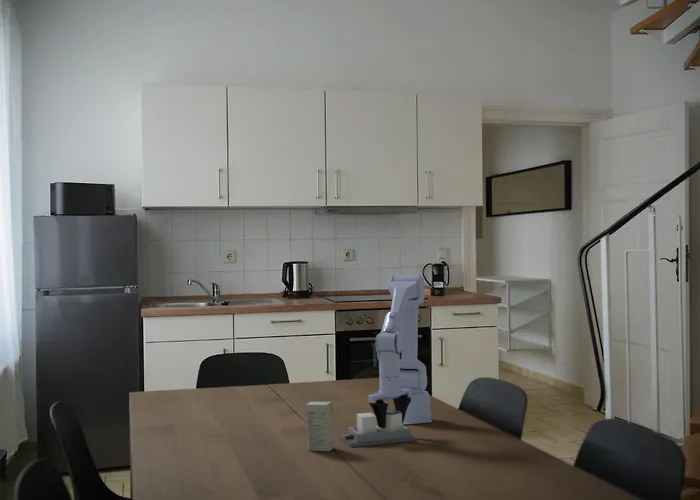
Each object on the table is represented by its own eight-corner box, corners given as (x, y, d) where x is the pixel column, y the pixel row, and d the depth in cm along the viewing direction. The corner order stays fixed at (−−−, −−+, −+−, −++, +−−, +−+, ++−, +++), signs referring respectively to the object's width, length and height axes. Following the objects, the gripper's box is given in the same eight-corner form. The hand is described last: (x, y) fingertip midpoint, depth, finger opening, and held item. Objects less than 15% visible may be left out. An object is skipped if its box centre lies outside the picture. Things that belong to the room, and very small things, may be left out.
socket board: (402, 432, 214) (401, 407, 214) (414, 440, 205) (414, 415, 205) (340, 438, 209) (339, 413, 209) (350, 447, 200) (349, 420, 200)
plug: (389, 431, 212) (389, 408, 212) (402, 434, 208) (401, 411, 208) (379, 434, 209) (378, 410, 209) (391, 437, 205) (391, 413, 205)
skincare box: (335, 447, 200) (333, 401, 200) (329, 452, 196) (328, 404, 196) (312, 446, 202) (311, 400, 202) (306, 450, 198) (305, 403, 198)
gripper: (398, 371, 216) (399, 418, 216) (360, 377, 207) (361, 427, 207) (416, 373, 211) (417, 422, 211) (378, 380, 201) (379, 431, 201)
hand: (391, 425), depth 208 cm, fingers open, 6 cm apart
